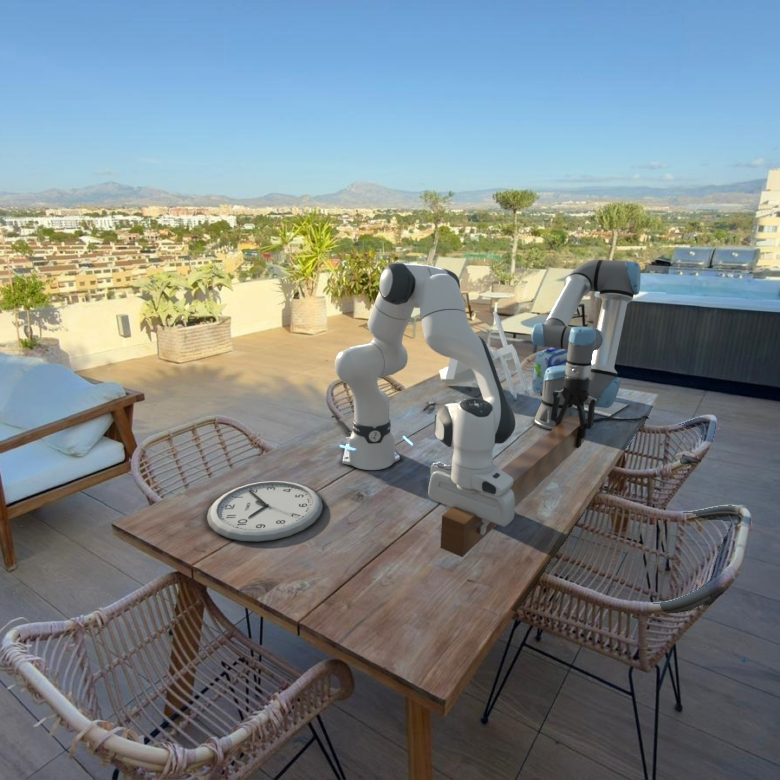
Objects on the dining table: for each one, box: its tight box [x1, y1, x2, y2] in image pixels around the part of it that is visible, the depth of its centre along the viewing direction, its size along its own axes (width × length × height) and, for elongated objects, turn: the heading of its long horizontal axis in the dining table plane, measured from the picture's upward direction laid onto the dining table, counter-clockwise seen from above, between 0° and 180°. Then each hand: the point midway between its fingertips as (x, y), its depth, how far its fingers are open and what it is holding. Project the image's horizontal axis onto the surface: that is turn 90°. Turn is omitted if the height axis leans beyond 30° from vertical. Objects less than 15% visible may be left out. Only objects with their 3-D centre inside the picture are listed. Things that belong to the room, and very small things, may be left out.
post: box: [439, 416, 588, 558], centre depth 144 cm, size 82×6×8 cm, turn 143°
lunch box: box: [531, 347, 568, 394], centre depth 244 cm, size 26×11×21 cm, turn 135°
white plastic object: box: [438, 310, 531, 400], centre depth 245 cm, size 37×45×31 cm
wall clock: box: [206, 480, 324, 543], centre depth 140 cm, size 30×2×30 cm
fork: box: [422, 395, 437, 412], centre depth 223 cm, size 3×16×2 cm, turn 160°
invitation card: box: [573, 401, 629, 418], centre depth 226 cm, size 21×1×15 cm
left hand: (467, 527), depth 119 cm, fingers closed on post, 5 cm apart
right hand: (568, 444), depth 171 cm, fingers closed on post, 6 cm apart
